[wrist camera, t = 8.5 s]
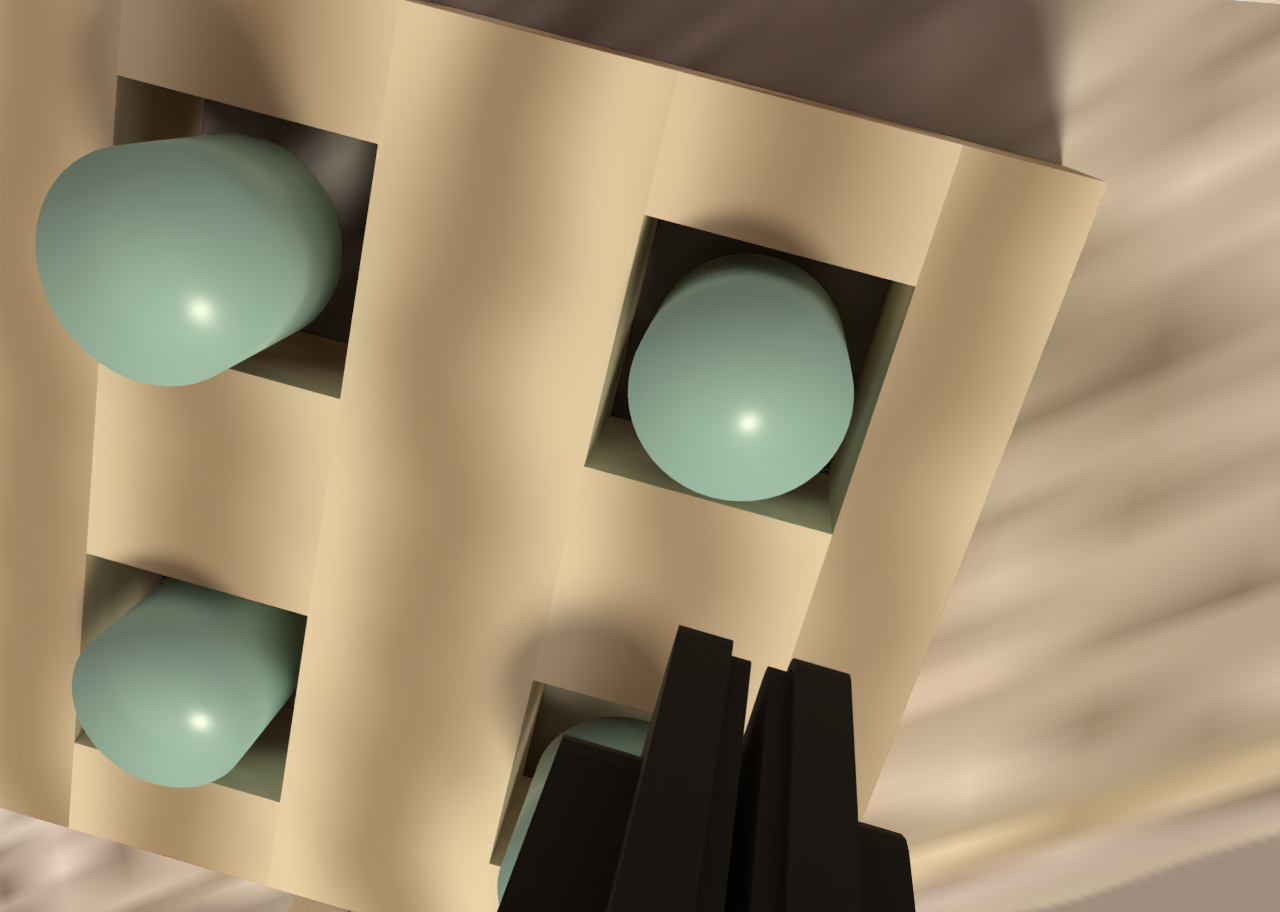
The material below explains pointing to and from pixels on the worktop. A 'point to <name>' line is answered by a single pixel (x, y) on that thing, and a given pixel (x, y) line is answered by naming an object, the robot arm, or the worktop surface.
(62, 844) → the worktop surface
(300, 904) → the plaque
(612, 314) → the board
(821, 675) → the robot arm
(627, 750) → the button
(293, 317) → the button
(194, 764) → the button
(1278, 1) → the syrup box
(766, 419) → the button
